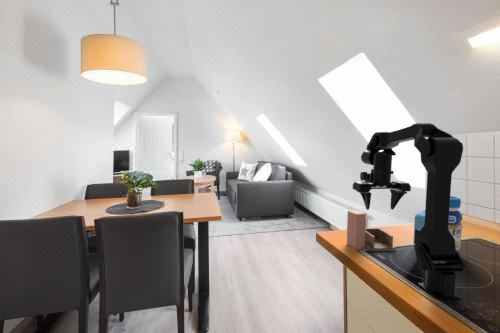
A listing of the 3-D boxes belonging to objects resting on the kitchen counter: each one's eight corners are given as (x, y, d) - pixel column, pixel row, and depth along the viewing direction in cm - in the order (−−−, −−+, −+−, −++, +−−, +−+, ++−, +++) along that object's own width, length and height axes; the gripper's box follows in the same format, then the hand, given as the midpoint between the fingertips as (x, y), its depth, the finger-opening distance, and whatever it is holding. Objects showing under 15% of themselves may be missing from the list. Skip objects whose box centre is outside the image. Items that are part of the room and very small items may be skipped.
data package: (427, 249, 90) (428, 217, 89) (413, 245, 94) (414, 214, 93) (438, 241, 98) (439, 211, 97) (424, 238, 101) (426, 209, 100)
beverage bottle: (433, 246, 93) (436, 193, 91) (462, 253, 87) (466, 197, 85) (427, 253, 87) (430, 197, 86) (457, 261, 81) (461, 201, 79)
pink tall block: (364, 247, 92) (365, 213, 91) (355, 249, 91) (356, 214, 90) (355, 242, 97) (356, 210, 96) (346, 244, 96) (347, 211, 95)
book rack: (396, 250, 89) (396, 237, 89) (371, 251, 89) (371, 237, 89) (380, 240, 99) (381, 228, 99) (358, 240, 99) (358, 228, 99)
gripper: (393, 164, 97) (391, 203, 99) (347, 165, 97) (345, 204, 98) (413, 168, 86) (410, 211, 88) (361, 168, 86) (358, 212, 87)
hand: (379, 209), depth 91 cm, fingers open, 9 cm apart
